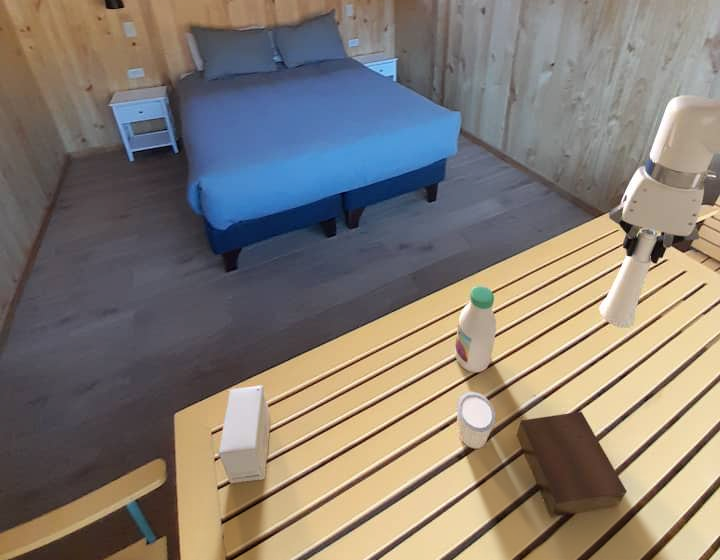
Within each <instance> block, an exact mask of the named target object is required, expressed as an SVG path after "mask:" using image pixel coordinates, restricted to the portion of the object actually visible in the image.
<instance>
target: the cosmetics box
mask: <svg viewBox="0 0 720 560" xmlns="http://www.w3.org/2000/svg"><path fill="white" fill-rule="evenodd" d="M224 415H225V416H224V420H223V426H222V431H221V437H220V442H219V448H218V456H219V458H220V461H221V463H222V467H223V469H224V471H225V473H226V476H227V479H228V481H229V484H236V483H242V482H243V483H244V482H251V481H261V480H264V479H266V470H267V459H268V452H269V451H268V450H269V439H270V430H271V429H270V427H271V412H270V408H269V405H268V401H267V398H266V394H265V390H264V385H262V384H260V385H252V386H245V387H236V388H230V390H229V393H228V399H227V404H226V410H225V414H224Z"/></svg>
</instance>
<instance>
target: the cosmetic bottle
mask: <svg viewBox="0 0 720 560" xmlns="http://www.w3.org/2000/svg"><path fill="white" fill-rule="evenodd" d="M657 236H658V231H656V230H652V229H648V228H644V227H642V228H641V230H640V231H639V232H638V233H637V244H636V247H635V249H634V252H633V255H632V256H631V257H629V256H627V255H626V256H625V258H624V259H623V260H624V261H623V262H622V265H621V267H620V269H619V272H618V273H617V276H616V278H615V280H614V282H613V284H612V286H611V288H610V290H609V292H608V294H607V296H606V297H605V298H604V300H603V301H602V303H601V304H600V305H599V312H600V315H601V316H602V318H603V319H604V320H605V321H606V322H607V323H609V324H610V325H612V326H614V327H617V328H621V329H629V328H631V327H633V326H634V324H635V318H636V312H637V308H638V303H639V300H640V297H641V293H642V290H643V288H644V284H645V281H646V279H647V275H648V273H649V270H650V266H651V264H652V262H651V257H650V255H651V253H652V251H653V248H654V246H655V243H656V241H657V238H656V237H657Z"/></svg>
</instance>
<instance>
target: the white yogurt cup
mask: <svg viewBox="0 0 720 560" xmlns="http://www.w3.org/2000/svg"><path fill="white" fill-rule="evenodd" d="M456 413H457V414H456V416H457V417H456V428H457V429H456V431H457V435H458V438H459V439H460V441H461V442H462V441H463V442H464V443H465V444H466V446H467V447H468V448H471V449H474V450H475V449H476V450H477V449H480V448H482V447H483V446H484V445H485V444H486V443H487V440H488V439H489V436H490V434H491V432H492V429H493V428H494V424H495V422H496V410H495V409H494V406H493V404H492V402H491V401H490V400H489V399H488V398H487V397H486V396H485V395H483V394H481V393H480V392H475V391H469V392H465V393H463V394H462V395H461V396H460V397H459V399H458V401H457V404H456ZM463 442H462V443H463ZM464 443H463V444H464ZM465 444H464V445H465Z"/></svg>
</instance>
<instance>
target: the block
mask: <svg viewBox="0 0 720 560" xmlns="http://www.w3.org/2000/svg"><path fill="white" fill-rule="evenodd" d="M516 437H517V440H518V443H519V442H520V443H519V445H520V448H521V450H522V452H523V455H524V457H525V459H526V462H527V463H528V467H529V469H530V471H532V472H531V474H532V477H533V479H534V478H535V479H534V482H535V484H536V486H537V488H538V491H539V493H540V496H541V498H542V500H544V501H543V503H544V505H546V506H545V508H546V511H547V513H548V516H549V517H550V518H557V517H563V516H569V515H574V514H581V513H585V512H592V511H596V510H602V509H607V508H615V507H619V506H620V504H621V502H622V500H623V499H624V497H625V495H626V494H627V489H626V488H625V486H624V484H623V482H622V481H621V479H620V477H619V475H618V472H617V471H616V470H615V468H614V466H613V464H612V463H611V461H610V459H609V457H608V455H607V454H606V452H605V450H604V449H603V447H602V445H601V443H600V442H599V440H598V438H597V436H596V435H595V432H594V431H593V429H592V428H591V425H590V423H589V422H588V421H587V419H586V417H585V415H584V413H583V412H582V411H576V412H570V413H563V414H562V413H561V414H556V415H549V416H543V417H542V416H541V417H536V418H528V419H522V420H520V421H519V424H518V429H517V432H516Z"/></svg>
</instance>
